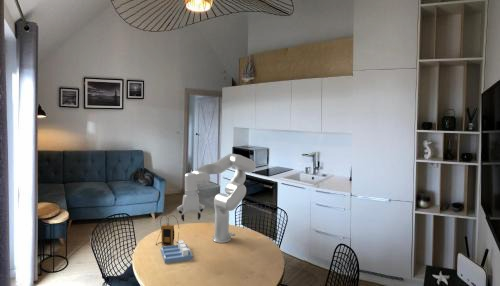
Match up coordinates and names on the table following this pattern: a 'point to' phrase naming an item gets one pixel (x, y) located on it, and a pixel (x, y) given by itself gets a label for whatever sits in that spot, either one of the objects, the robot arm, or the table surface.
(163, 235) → the multimeter
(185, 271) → the table surface
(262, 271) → the table surface
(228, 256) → the table surface
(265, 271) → the table surface
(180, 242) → the white block
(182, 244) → the white rectangular block
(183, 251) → the white square block
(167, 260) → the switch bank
